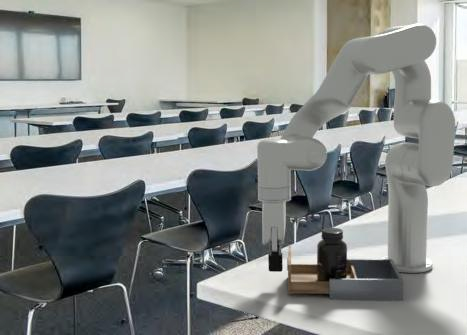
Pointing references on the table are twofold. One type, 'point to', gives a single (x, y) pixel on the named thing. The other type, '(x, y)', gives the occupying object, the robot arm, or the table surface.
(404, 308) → the table surface
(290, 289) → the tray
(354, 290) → the housing
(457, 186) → the table surface
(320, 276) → the supplement bottle
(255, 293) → the table surface
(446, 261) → the table surface
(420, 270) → the robot arm
